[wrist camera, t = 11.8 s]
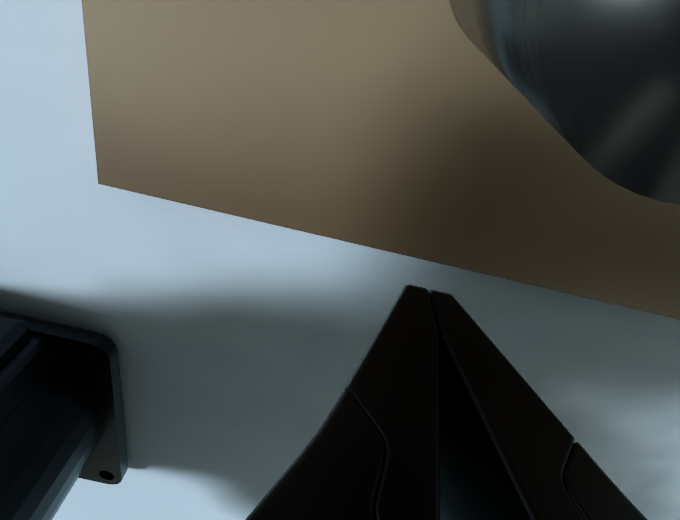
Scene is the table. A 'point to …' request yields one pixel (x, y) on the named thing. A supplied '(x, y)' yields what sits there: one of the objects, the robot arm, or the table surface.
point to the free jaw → (594, 78)
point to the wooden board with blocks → (365, 140)
